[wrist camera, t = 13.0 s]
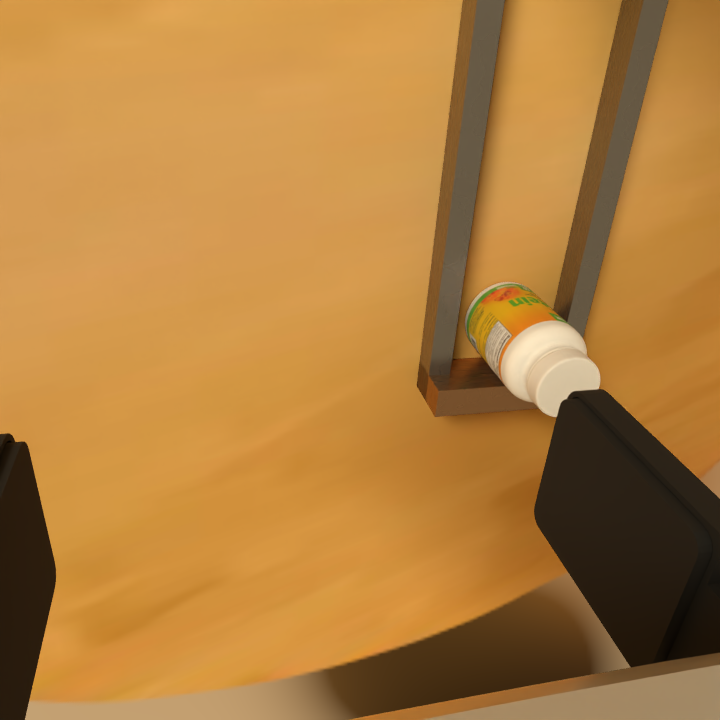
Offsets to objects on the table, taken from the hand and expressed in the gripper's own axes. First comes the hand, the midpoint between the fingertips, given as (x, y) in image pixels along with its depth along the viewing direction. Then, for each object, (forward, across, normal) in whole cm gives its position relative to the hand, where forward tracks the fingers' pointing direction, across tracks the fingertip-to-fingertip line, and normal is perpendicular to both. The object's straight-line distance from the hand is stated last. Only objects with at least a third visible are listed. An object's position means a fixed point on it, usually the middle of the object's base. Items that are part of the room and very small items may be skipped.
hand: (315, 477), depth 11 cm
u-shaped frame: (+28, -18, +3) cm, 34 cm away
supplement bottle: (+28, -18, +11) cm, 35 cm away
